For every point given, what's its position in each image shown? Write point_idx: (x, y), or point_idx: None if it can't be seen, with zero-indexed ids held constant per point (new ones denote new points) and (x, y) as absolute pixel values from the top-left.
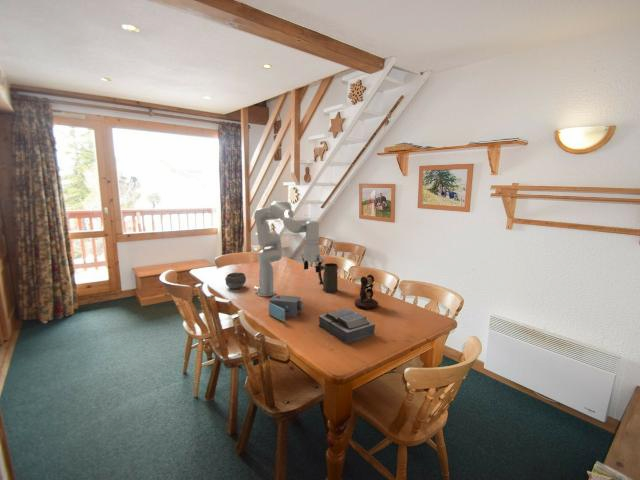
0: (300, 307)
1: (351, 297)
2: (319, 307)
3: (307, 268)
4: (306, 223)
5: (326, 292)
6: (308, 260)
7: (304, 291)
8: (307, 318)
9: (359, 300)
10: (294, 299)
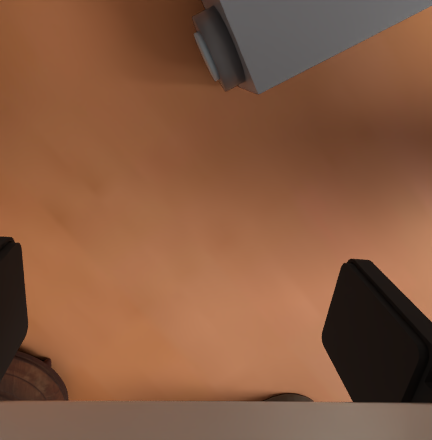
0: (197, 28)
1: None
2: (181, 216)
3: (329, 324)
4: None
5: (284, 394)
6: (244, 430)
7: None
8: (118, 17)
9: (21, 393)
10: (260, 2)
